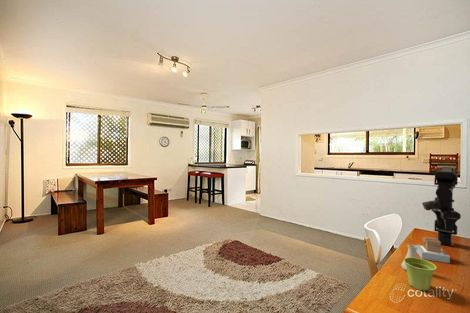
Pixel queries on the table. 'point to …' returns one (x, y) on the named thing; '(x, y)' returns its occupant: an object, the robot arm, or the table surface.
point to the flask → (410, 254)
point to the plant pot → (419, 273)
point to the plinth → (433, 255)
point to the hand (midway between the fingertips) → (443, 227)
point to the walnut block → (432, 244)
